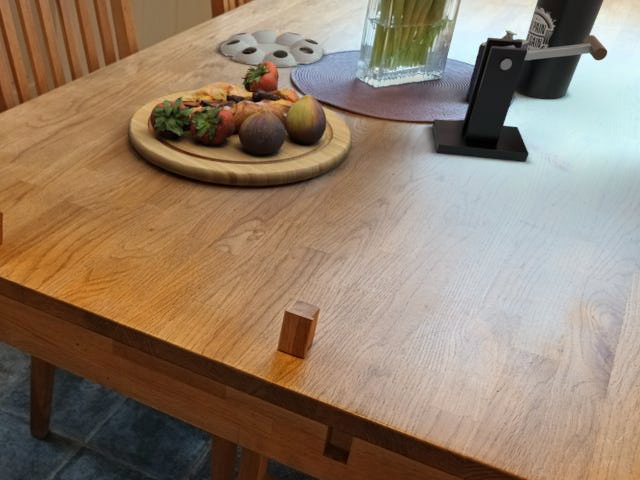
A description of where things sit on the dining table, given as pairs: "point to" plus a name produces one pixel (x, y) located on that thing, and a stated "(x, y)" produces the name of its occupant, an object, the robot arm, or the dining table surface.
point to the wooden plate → (241, 133)
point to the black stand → (488, 108)
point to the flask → (479, 58)
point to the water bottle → (555, 45)
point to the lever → (570, 50)
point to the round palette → (272, 49)
